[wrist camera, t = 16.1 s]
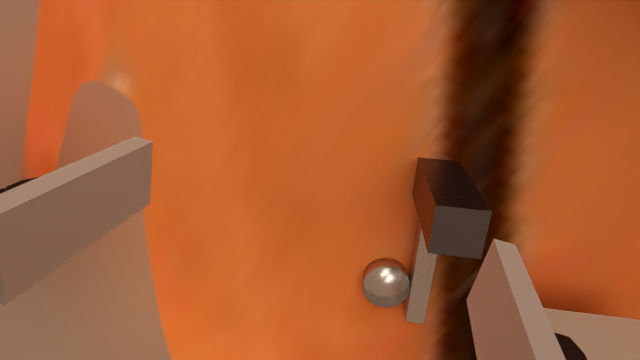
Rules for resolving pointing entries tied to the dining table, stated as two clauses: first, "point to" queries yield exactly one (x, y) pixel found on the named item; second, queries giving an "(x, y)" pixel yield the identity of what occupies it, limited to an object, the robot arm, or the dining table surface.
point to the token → (386, 283)
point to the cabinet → (598, 334)
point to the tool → (443, 226)
